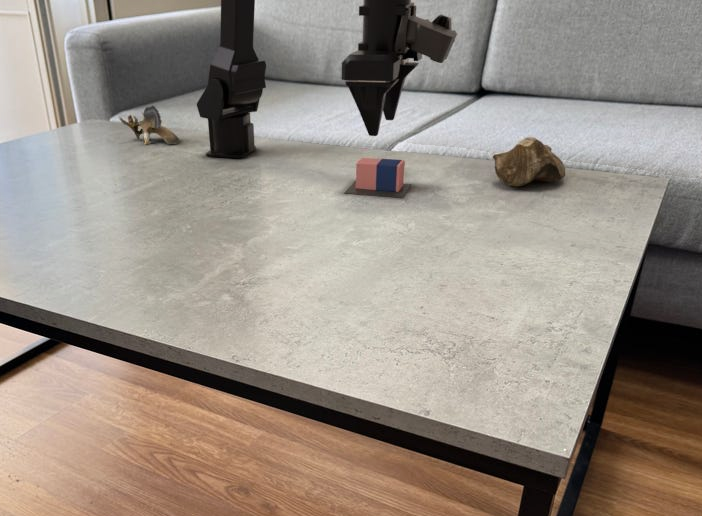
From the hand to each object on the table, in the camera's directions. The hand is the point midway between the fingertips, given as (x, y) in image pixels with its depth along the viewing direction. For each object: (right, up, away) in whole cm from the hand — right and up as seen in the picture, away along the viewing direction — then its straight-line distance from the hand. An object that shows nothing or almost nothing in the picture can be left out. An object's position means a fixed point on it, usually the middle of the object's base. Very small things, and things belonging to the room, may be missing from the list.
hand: (381, 127), depth 92 cm
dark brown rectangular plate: (0, -7, +4) cm, 8 cm away
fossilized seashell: (+21, -6, +4) cm, 22 cm away
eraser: (0, -7, +4) cm, 8 cm away
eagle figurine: (-36, +8, +32) cm, 49 cm away
